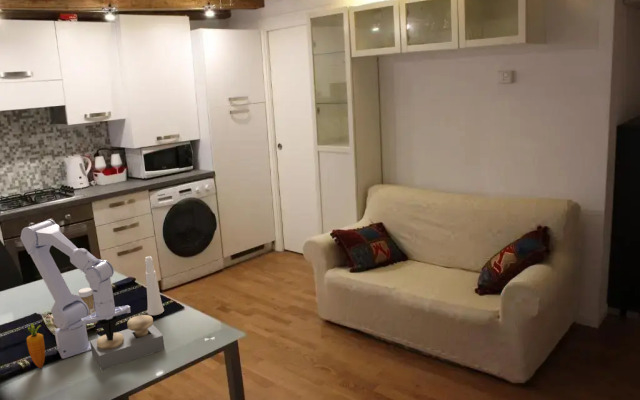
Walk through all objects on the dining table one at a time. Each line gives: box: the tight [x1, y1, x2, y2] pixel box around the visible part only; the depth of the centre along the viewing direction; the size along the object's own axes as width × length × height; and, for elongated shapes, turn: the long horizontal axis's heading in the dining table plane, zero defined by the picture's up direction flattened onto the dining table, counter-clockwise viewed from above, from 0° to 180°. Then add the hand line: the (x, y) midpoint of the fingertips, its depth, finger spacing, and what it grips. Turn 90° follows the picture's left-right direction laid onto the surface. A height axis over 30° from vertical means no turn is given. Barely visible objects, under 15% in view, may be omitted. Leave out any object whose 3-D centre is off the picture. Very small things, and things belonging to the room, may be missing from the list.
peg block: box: [89, 324, 166, 371], centre depth 181 cm, size 20×12×5 cm, turn 125°
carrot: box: [26, 323, 46, 369], centre depth 172 cm, size 5×5×15 cm
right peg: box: [126, 314, 154, 338], centre depth 183 cm, size 8×8×6 cm
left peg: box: [96, 332, 124, 350], centre depth 178 cm, size 8×8×6 cm
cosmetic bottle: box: [144, 255, 165, 316], centre depth 206 cm, size 6×6×22 cm
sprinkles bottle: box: [78, 287, 98, 325], centre depth 200 cm, size 5×5×14 cm
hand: (110, 339), depth 177 cm, fingers closed, pressing on left peg
